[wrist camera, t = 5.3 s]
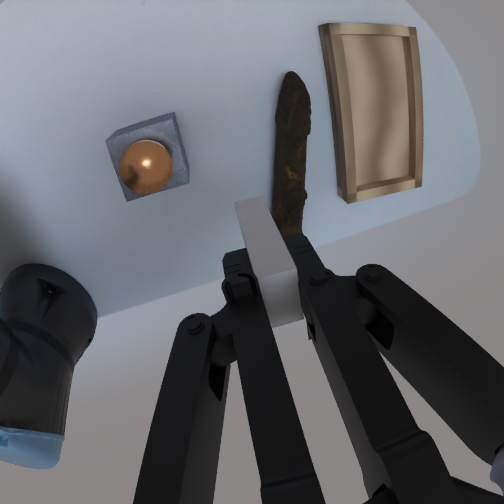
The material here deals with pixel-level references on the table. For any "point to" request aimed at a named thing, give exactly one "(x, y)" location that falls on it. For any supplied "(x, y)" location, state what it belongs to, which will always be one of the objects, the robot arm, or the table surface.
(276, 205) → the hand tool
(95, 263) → the table surface
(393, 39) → the tray
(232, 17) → the table surface
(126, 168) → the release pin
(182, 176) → the socket block
